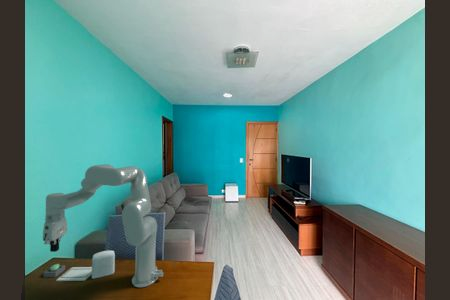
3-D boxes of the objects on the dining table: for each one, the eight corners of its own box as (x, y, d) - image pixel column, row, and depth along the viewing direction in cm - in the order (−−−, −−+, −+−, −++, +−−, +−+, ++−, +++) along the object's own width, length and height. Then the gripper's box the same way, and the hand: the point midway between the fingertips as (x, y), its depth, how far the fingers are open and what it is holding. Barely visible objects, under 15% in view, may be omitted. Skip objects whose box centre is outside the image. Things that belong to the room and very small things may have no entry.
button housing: (65, 269, 101) (65, 265, 101) (55, 277, 95) (55, 272, 95) (54, 269, 101) (54, 265, 101) (43, 277, 95) (43, 272, 95)
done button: (61, 268, 100) (61, 263, 100) (55, 272, 96) (55, 268, 96) (54, 268, 100) (54, 263, 100) (48, 272, 96) (48, 268, 96)
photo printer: (115, 269, 101) (115, 247, 101) (114, 274, 97) (114, 251, 98) (92, 275, 97) (92, 251, 97) (90, 280, 93) (91, 256, 93)
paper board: (97, 267, 103) (97, 266, 103) (84, 280, 93) (84, 279, 93) (72, 268, 102) (72, 267, 102) (56, 281, 92) (56, 279, 92)
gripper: (49, 222, 91) (48, 259, 91) (73, 212, 106) (72, 243, 106) (34, 222, 90) (33, 259, 90) (60, 211, 105) (59, 243, 105)
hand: (54, 250), depth 98 cm, fingers closed
